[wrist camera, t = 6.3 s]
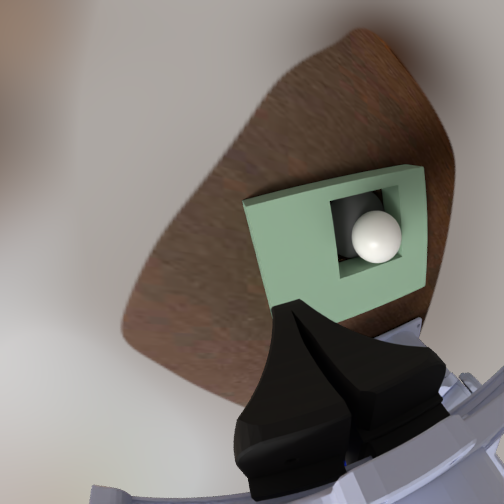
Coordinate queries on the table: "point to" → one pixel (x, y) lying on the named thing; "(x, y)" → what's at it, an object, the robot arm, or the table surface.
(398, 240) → the ball
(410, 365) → the robot arm
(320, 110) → the table surface
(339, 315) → the green
